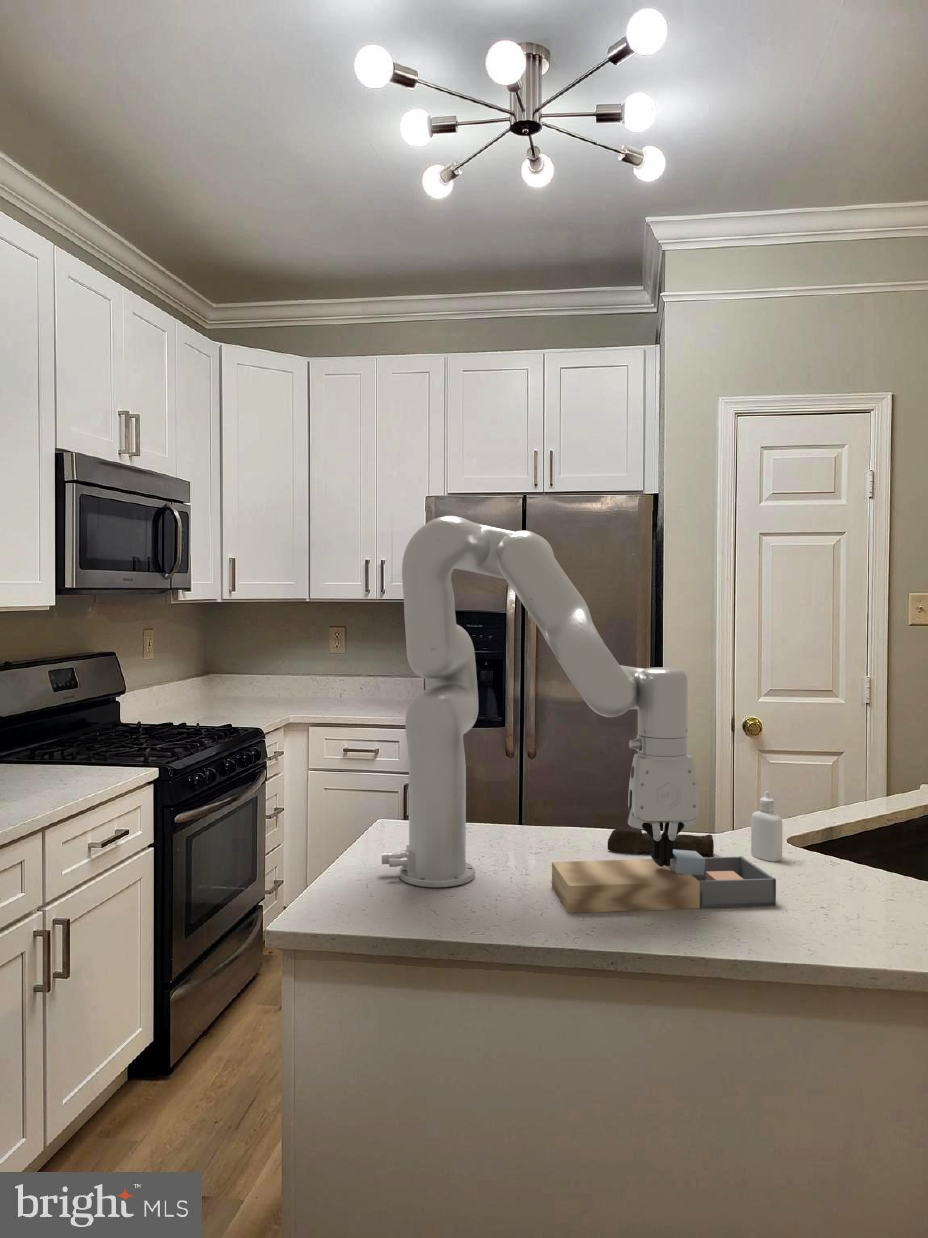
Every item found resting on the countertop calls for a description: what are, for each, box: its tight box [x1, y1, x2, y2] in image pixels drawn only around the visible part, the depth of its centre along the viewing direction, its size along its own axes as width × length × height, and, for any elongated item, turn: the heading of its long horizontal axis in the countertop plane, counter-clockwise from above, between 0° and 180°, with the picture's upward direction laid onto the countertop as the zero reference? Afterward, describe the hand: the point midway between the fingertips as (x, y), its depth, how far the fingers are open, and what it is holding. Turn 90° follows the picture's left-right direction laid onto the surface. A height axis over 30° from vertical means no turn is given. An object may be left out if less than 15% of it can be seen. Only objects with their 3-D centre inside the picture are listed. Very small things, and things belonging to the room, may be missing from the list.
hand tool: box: [607, 827, 715, 857], centre depth 159 cm, size 19×4×5 cm, turn 80°
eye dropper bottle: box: [750, 791, 783, 863], centre depth 156 cm, size 4×6×12 cm
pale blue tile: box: [669, 849, 706, 875], centre depth 136 cm, size 4×4×2 cm
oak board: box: [551, 858, 701, 914], centre depth 135 cm, size 20×12×4 cm, turn 96°
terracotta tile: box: [706, 871, 743, 880], centre depth 136 cm, size 4×4×2 cm
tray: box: [691, 856, 777, 909], centre depth 136 cm, size 12×12×4 cm
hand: (661, 863), depth 135 cm, fingers closed
